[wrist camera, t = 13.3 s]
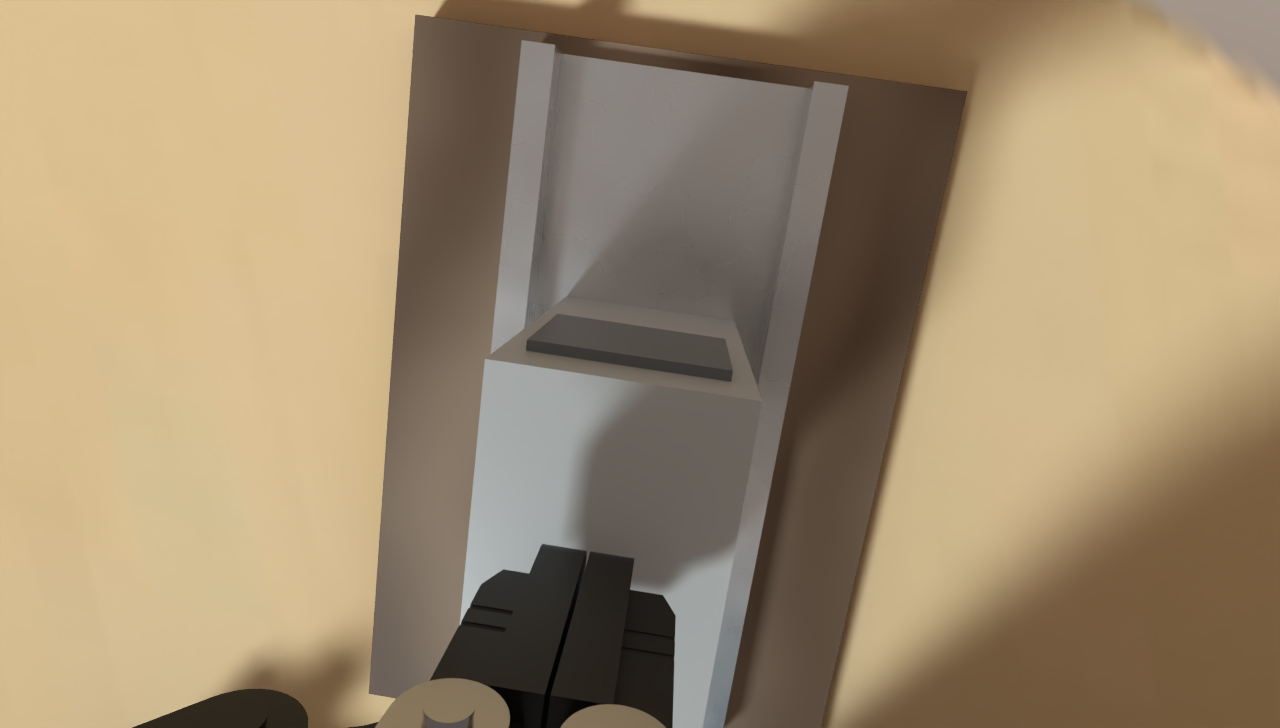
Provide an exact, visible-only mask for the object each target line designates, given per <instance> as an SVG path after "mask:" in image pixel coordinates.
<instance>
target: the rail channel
mask: <svg viewBox="0 0 1280 728" xmlns="http://www.w3.org/2000/svg"><path fill="white" fill-rule="evenodd" d="M848 88H849V86H846V85H839V84H831V83H824V82H817V81H814V82H813V83H812V84H811V85H810V86H809V87H808V88H803V87H796V86H788V85H781V84H774V83H767V82H760V81H753V80H746V79H739V78H732V77H724V76H717V75H710V74H703V73H696V72H689V71H682V70H675V69H667V68H660V67H653V66H646V65H639V64H632V63H625V62H618V61H611V60H603V59H596V58H589V57H582V56H575V55H568V54H563V53H562V52H561V51H560V50H559V49H558V47H557V46H556V45H553V44H546V43H539V42H532V41H525V40H522V42H521V52H520V62H519V72H518V82H517V92H516V102H515V113H514V123H513V133H512V143H511V153H510V163H509V173H508V183H507V193H506V203H505V213H504V223H503V233H502V243H501V253H500V263H499V273H498V284H497V294H496V304H495V314H494V324H493V334H492V344H491V354H492V353H493V352H494V351H496V350H497V349H498V348H500V347H501V346H502V345H504V344H505V343H506V342H507V341H509V340H510V339H511V338H513V337H514V336H515V335H517V334H518V333H519V332H520V331H522V330H523V329H524V328H526V327H527V326H528V325H530V324H531V323H532V322H534V321H535V320H536V319H537V318H539V317H540V316H541V315H543V314H544V313H545V312H547V311H548V310H549V309H550V308H552V307H553V306H554V305H556V304H557V303H558V302H560V301H561V300H562V299H563V298H565V297H566V296H570V297H577V298H583V299H590V300H597V301H604V302H610V303H617V304H624V305H630V306H637V307H644V308H651V309H657V310H664V311H671V312H677V313H684V314H691V315H698V316H704V317H711V318H718V319H724V320H731V321H734V322H735V325H736V328H737V330H738V333H739V336H740V339H741V342H742V345H743V347H744V350H745V353H746V356H747V359H748V362H749V364H750V367H751V370H752V373H753V376H754V379H755V381H756V384H757V387H758V390H759V393H760V396H761V398H762V407H761V412H760V417H759V423H758V428H757V434H756V439H755V445H754V450H753V455H752V461H751V466H750V472H749V477H748V483H747V488H746V493H745V499H744V504H743V510H742V515H741V521H740V526H739V531H738V537H737V542H736V548H735V553H734V559H733V564H732V569H731V575H730V580H729V586H728V591H727V597H726V602H725V607H724V613H723V618H722V624H721V629H720V635H719V640H718V645H717V651H716V656H715V662H714V667H713V673H712V678H711V683H710V689H709V694H708V700H707V705H706V711H705V716H704V721H703V727H702V728H723V727H724V722H725V717H726V712H727V707H728V702H729V697H730V692H731V687H732V681H733V676H734V671H735V666H736V661H737V656H738V651H739V646H740V640H741V635H742V630H743V625H744V620H745V615H746V610H747V605H748V600H749V594H750V589H751V584H752V579H753V574H754V569H755V564H756V559H757V554H758V548H759V543H760V538H761V533H762V528H763V523H764V518H765V513H766V507H767V502H768V497H769V492H770V487H771V482H772V477H773V472H774V467H775V461H776V456H777V451H778V446H779V441H780V436H781V431H782V426H783V420H784V415H785V410H786V405H787V400H788V395H789V390H790V385H791V380H792V374H793V369H794V364H795V359H796V354H797V349H798V344H799V339H800V333H801V328H802V323H803V318H804V313H805V308H806V303H807V298H808V293H809V287H810V282H811V277H812V272H813V267H814V262H815V257H816V252H817V247H818V241H819V236H820V231H821V226H822V221H823V216H824V211H825V206H826V200H827V195H828V190H829V185H830V180H831V175H832V170H833V165H834V160H835V154H836V149H837V144H838V139H839V134H840V129H841V124H842V119H843V113H844V108H845V103H846V98H847V93H848ZM491 354H490V355H491Z"/></svg>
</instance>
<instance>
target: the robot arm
mask: <svg viewBox="0 0 1280 728" xmlns="http://www.w3.org/2000/svg"><path fill="white" fill-rule="evenodd" d="M586 559H587V551H585V550H578V549H572V548H566V547H560V546H553V545H547V544H542V545H541V547H540V549H539V552H538V554H537V556H536V559H535V561H534V563H533V566H532V568H531V571H530V573H523V572H517V571H510V570H504V569H503V570H502V571H500V572H499V573H497V574H496V575H494V576H493V577H491V578H490V579H488V580H487V581H485V582H484V583H482V584H481V585H480V587H479V589H478V591H477V593H476V595H475V597H474V598H473V600H472V602H471V604H470V608H468V610H467V612H466V613H465V615H464V617H463V619H462V622H461V625H459V627H458V628H457V630H456V632H455V634H454V636H453V638H452V640H451V641H450V643H449V645H448V647H447V649H446V651H445V653H444V655H443V656H442V658H441V660H440V662H439V664H438V666H437V668H436V670H435V671H434V673H433V675H432V677H431V679H430V681H428V682H424V683H421V684H419V685H416V686H414V687H412V688H410V689H408V690H407V691H405V692H403V693H402V694H401V695H400V696H399V697H397V698H396V699H395V701H394V702H393V703H392V704H391V705H390V707H389V708H388V710H387V711H386V712H385V714H384V715H383V717H382V718H381V719H380V721H379V722H377V723H373V724H369V725H364V726H358V727H350V728H673V692H674V656H675V622H676V615H675V614H674V612H673V611H672V609H671V607H670V606H669V604H668V602H667V601H666V599H665V598H664V596H663V595H660V594H653V593H647V592H641V591H635V590H630V586H631V579H632V573H633V566H634V559H635V558H629V557H623V556H617V555H610V554H604V553H598V552H592V551H590V554H589V558H588V561H587V565H586ZM585 567H586V568H585ZM133 728H308V717H307V713H306V711H305V709H304V707H303V706H302V705H301V704H300V703H299V702H298V701H297V700H296V699H294V698H293V697H291V696H289V695H287V694H284V693H282V692H278V691H273V690H266V689H246V690H238V691H232V692H228V693H224V694H220V695H217V696H214V697H211V698H209V699H206V700H203V701H201V702H198V703H196V704H193V705H190V706H188V707H185V708H182V709H180V710H177V711H175V712H172V713H169V714H167V715H164V716H162V717H159V718H156V719H154V720H151V721H148V722H146V723H143V724H141V725H138V726H135V727H133Z"/></svg>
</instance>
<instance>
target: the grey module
mask: <svg viewBox="0 0 1280 728" xmlns="http://www.w3.org/2000/svg"><path fill="white" fill-rule="evenodd" d="M761 407H762V398H761V396H760V393H759V390H758V387H757V384H756V381H755V379H754V376H753V373H752V370H751V367H750V364H749V362H748V359H747V356H746V353H745V350H744V347H743V345H742V342H741V339H740V336H739V333H738V330H737V328H736V325H735V322H734V321H731V320H724V319H718V318H711V317H704V316H698V315H691V314H684V313H677V312H671V311H664V310H657V309H651V308H644V307H637V306H630V305H624V304H617V303H610V302H604V301H597V300H590V299H583V298H577V297H570V296H566V297H565V298H563V299H562V300H561V301H560V302H558V303H557V304H556V305H554V306H553V307H552V308H550V309H549V310H548V311H547V312H545V313H544V314H543V315H541V316H540V317H539V318H537V319H536V320H535V321H534V322H532V323H531V324H530V325H528V326H527V327H526V328H524V329H523V330H522V331H520V332H519V333H518V334H517V335H515V336H514V337H513V338H511V339H510V340H509V341H507V342H506V343H505V344H504V345H502V346H501V347H500V348H498V349H497V350H496V351H494V352H493V353H492V354H491V355H489V356H488V357H487V358H485V363H484V373H483V384H482V395H481V405H480V416H479V426H478V437H477V447H476V458H475V469H474V479H473V490H472V500H471V511H470V522H469V532H468V543H467V553H466V564H465V574H464V585H463V596H462V606H461V617H460V625H461V622H462V619H463V617H464V615H465V613H466V612H467V610H468V608H470V604H471V602H472V600H473V598H474V597H475V595H476V593H477V591H478V589H479V587H480V585H481V584H482V583H484V582H485V581H487V580H488V579H490V578H491V577H493V576H494V575H496V574H497V573H499V572H500V571H502V570H503V569H504V570H510V571H517V572H523V573H530V571H531V568H532V566H533V563H534V561H535V559H536V556H537V554H538V552H539V549H540V547H541V545H542V544H547V545H553V546H560V547H566V548H572V549H578V550H585V551H587V559H586V565H587V561H588V558H589V554H590V551H592V552H598V553H604V554H610V555H617V556H623V557H629V558H635V559H634V566H633V573H632V579H631V586H630V590H635V591H641V592H647V593H653V594H660V595H663V596H664V598H665V599H666V601H667V602H668V604H669V606H670V607H671V609H672V611H673V612H674V614H675V615H676V622H675V656H674V692H673V728H702V727H703V721H704V716H705V711H706V705H707V700H708V694H709V689H710V683H711V678H712V673H713V667H714V662H715V656H716V651H717V645H718V640H719V635H720V629H721V624H722V618H723V613H724V607H725V602H726V597H727V591H728V586H729V580H730V575H731V569H732V564H733V559H734V553H735V548H736V542H737V537H738V531H739V526H740V521H741V515H742V510H743V504H744V499H745V493H746V488H747V483H748V477H749V472H750V466H751V461H752V455H753V450H754V445H755V439H756V434H757V428H758V423H759V417H760V412H761ZM585 568H586V567H585Z"/></svg>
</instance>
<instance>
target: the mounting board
mask: <svg viewBox="0 0 1280 728" xmlns="http://www.w3.org/2000/svg"><path fill="white" fill-rule="evenodd" d="M522 40H525V41H532V42H539V43H546V44H553V45H556V46H557V47H558V49H559V50H560V51H561V52H562V53H563V54H568V55H575V56H582V57H589V58H596V59H603V60H611V61H618V62H625V63H632V64H639V65H646V66H653V67H660V68H667V69H675V70H682V71H689V72H696V73H703V74H710V75H717V76H724V77H732V78H739V79H746V80H753V81H760V82H767V83H774V84H781V85H788V86H796V87H803V88H808V87H809V86H810V85H811V84H812V83H813V82H814V81H817V82H824V83H831V84H839V85H846V86H849V88H848V93H847V98H846V103H845V108H844V113H843V119H842V124H841V129H840V134H839V139H838V144H837V149H836V154H835V160H834V165H833V170H832V175H831V180H830V185H829V190H828V195H827V200H826V206H825V211H824V216H823V221H822V226H821V231H820V236H819V241H818V247H817V252H816V257H815V262H814V267H813V272H812V277H811V282H810V287H809V293H808V298H807V303H806V308H805V313H804V318H803V323H802V328H801V333H800V339H799V344H798V349H797V354H796V359H795V364H794V369H793V374H792V380H791V385H790V390H789V395H788V400H787V405H786V410H785V415H784V420H783V426H782V431H781V436H780V441H779V446H778V451H777V456H776V461H775V467H774V472H773V477H772V482H771V487H770V492H769V497H768V502H767V507H766V513H765V518H764V523H763V528H762V533H761V538H760V543H759V548H758V554H757V559H756V564H755V569H754V574H753V579H752V584H751V589H750V594H749V600H748V605H747V610H746V615H745V620H744V625H743V630H742V635H741V640H740V646H739V651H738V656H737V661H736V666H735V671H734V676H733V681H732V687H731V692H730V697H729V702H728V707H727V712H726V717H725V722H724V727H723V728H821V725H822V721H823V716H824V712H825V708H826V703H827V699H828V695H829V690H830V686H831V682H832V677H833V673H834V668H835V664H836V660H837V655H838V651H839V647H840V642H841V638H842V634H843V629H844V625H845V621H846V616H847V612H848V608H849V603H850V599H851V595H852V590H853V586H854V582H855V577H856V573H857V569H858V564H859V560H860V555H861V551H862V547H863V542H864V538H865V534H866V529H867V525H868V521H869V516H870V512H871V508H872V503H873V499H874V495H875V490H876V486H877V482H878V477H879V473H880V469H881V464H882V460H883V456H884V451H885V447H886V442H887V438H888V434H889V429H890V425H891V421H892V416H893V412H894V408H895V403H896V399H897V395H898V390H899V386H900V382H901V377H902V373H903V369H904V364H905V360H906V356H907V351H908V347H909V343H910V338H911V334H912V329H913V325H914V321H915V316H916V312H917V308H918V303H919V299H920V295H921V290H922V286H923V282H924V277H925V273H926V269H927V264H928V260H929V256H930V251H931V247H932V243H933V238H934V234H935V230H936V225H937V221H938V216H939V212H940V208H941V203H942V199H943V195H944V190H945V186H946V182H947V177H948V173H949V169H950V164H951V160H952V156H953V151H954V147H955V143H956V138H957V134H958V130H959V125H960V121H961V117H962V112H963V108H964V103H965V99H966V95H967V92H966V91H959V90H952V89H944V88H937V87H930V86H923V85H916V84H909V83H901V82H894V81H887V80H880V79H873V78H866V77H858V76H851V75H844V74H837V73H830V72H823V71H816V70H808V69H801V68H794V67H787V66H780V65H773V64H765V63H758V62H751V61H744V60H737V59H730V58H722V57H715V56H708V55H701V54H694V53H687V52H680V51H672V50H665V49H658V48H651V47H644V46H637V45H629V44H622V43H615V42H608V41H601V40H594V39H587V38H579V37H572V36H565V35H558V34H551V33H544V32H536V31H529V30H522V29H515V28H508V27H501V26H493V25H486V24H479V23H472V22H465V21H458V20H451V19H443V18H436V17H429V16H422V15H415V29H414V43H413V58H412V72H411V87H410V102H409V116H408V131H407V145H406V160H405V175H404V189H403V204H402V218H401V233H400V248H399V262H398V277H397V291H396V306H395V321H394V335H393V350H392V364H391V379H390V393H389V408H388V423H387V437H386V452H385V466H384V481H383V496H382V510H381V525H380V539H379V554H378V569H377V583H376V598H375V612H374V627H373V642H372V656H371V671H370V685H369V694H374V695H380V696H386V697H391V698H397V697H399V696H400V695H401V694H402V693H403V692H405V691H407V690H408V689H410V688H412V687H414V686H416V685H419V684H421V683H424V682H428V681H430V679H431V677H432V675H433V673H434V671H435V670H436V668H437V666H438V664H439V662H440V660H441V658H442V656H443V655H444V653H445V651H446V649H447V647H448V645H449V643H450V641H451V640H452V638H453V636H454V634H455V632H456V630H457V628H458V627H459V625H460V617H461V606H462V596H463V585H464V574H465V564H466V553H467V543H468V532H469V522H470V511H471V500H472V490H473V479H474V469H475V458H476V447H477V437H478V426H479V416H480V405H481V395H482V384H483V373H484V363H485V358H487V357H488V356H489V355H490V354H491V344H492V334H493V324H494V314H495V304H496V294H497V284H498V273H499V263H500V253H501V243H502V233H503V223H504V213H505V203H506V193H507V183H508V173H509V163H510V153H511V143H512V133H513V123H514V113H515V102H516V92H517V82H518V72H519V62H520V52H521V42H522Z"/></svg>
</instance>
